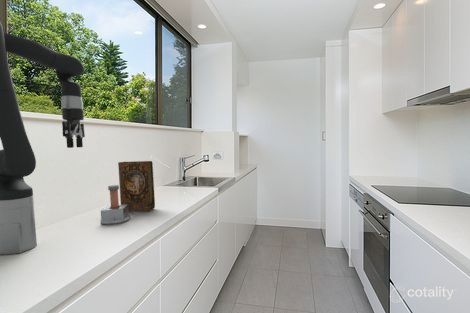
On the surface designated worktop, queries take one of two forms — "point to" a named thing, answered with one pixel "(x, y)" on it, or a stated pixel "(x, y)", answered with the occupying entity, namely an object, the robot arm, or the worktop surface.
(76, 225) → the worktop surface
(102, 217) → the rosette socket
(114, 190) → the pin
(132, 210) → the book
